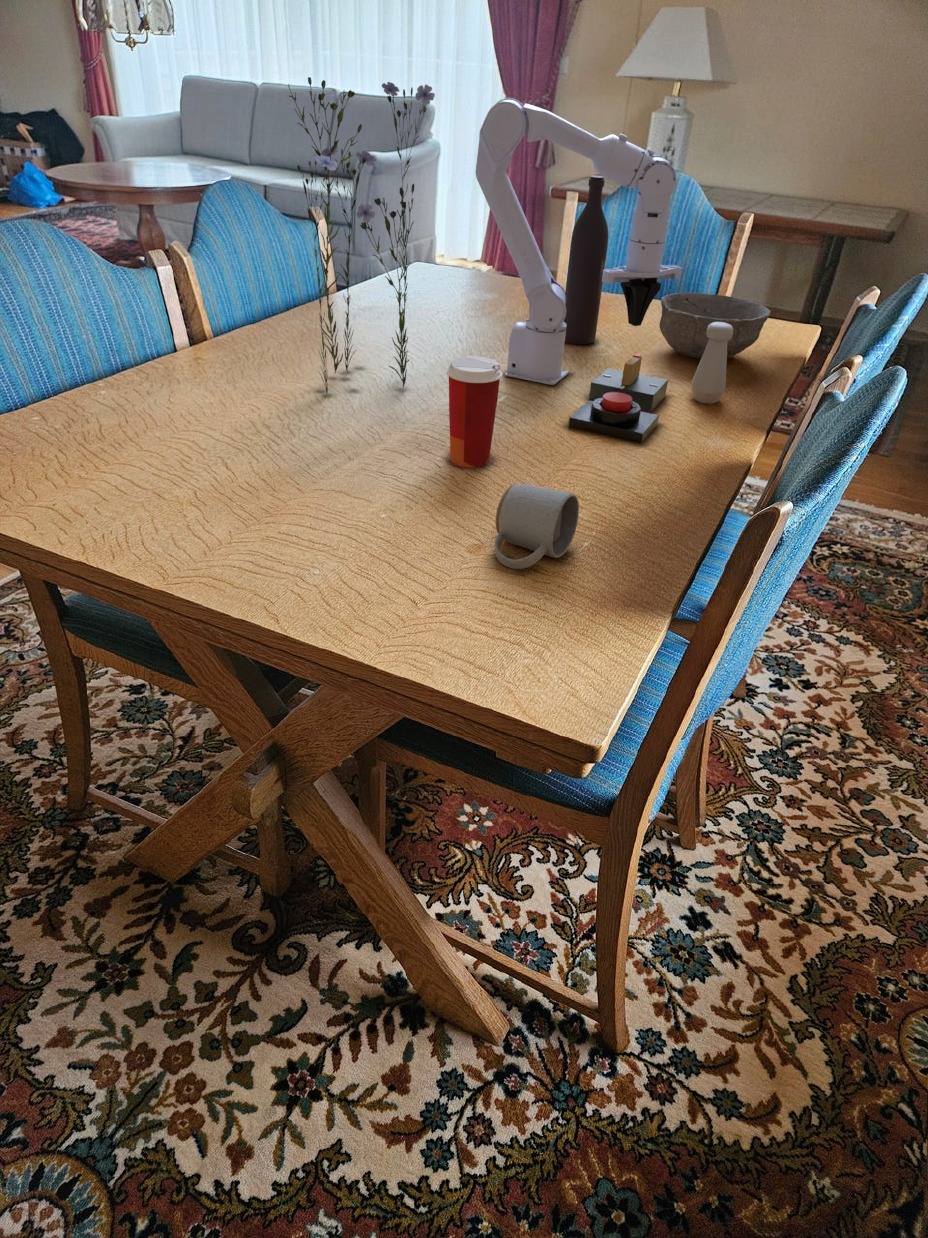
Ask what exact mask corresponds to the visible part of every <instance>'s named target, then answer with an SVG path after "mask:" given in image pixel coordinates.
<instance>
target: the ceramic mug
mask: <svg viewBox="0 0 928 1238" xmlns="http://www.w3.org/2000/svg"><path fill="white" fill-rule="evenodd" d="M579 515H580V502H579V499H578V497H577V495H576V494H575V493H573V492H569V491H562V490H558V489H553V488H547V487H542V486H537V485H532V484H527V483H515V484H511V486H509V487H508V488H506V490H505V491H504V493H503V494H502V495H501V497H500V499H499V501H498V505H497V507H496V512H495V529H496V532H497V535H496V537H495V540H494V543H493V547H494V553H495V556H496V559H497V560H498V562H499V563H500V564H501V565H503V566H505V567H506V568H509V569H513V570H523V569H526V568H530V567H533V565H535V564H536V563H538V562H539V560H541V559H542V558H543V556H546V557H547V556H548V557H550V558H555V559H558V558H561V557H562V556H563V555H565V554H566V552H567V551H568V549H569V548H570V546H571V544H572V542H573V539H574V537H575V535H576V532H577V531H576V530H577V527H578V522H579V517H580V516H579ZM504 541H506V542H507V543H509V544H512V545H514V546H515V545H516V546H518V547H522V548H524V549H527V550H530V551H533V552H532V553H531V554H529V555H528V556H525V557H521V558H516V559H512V558H508V557H507V556H506V555H505V554H503V553H502V551H501V550H500V549H501V546H502V544H503V542H504Z"/></svg>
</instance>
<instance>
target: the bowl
mask: <svg viewBox="0 0 928 1238" xmlns="http://www.w3.org/2000/svg"><path fill="white" fill-rule="evenodd" d="M660 299H661V300H660V305H661V317H660V319H659V324H658V325H659V326H658V327H659V330H660V332H661V335H662V336H663V338H664V340H665V341H666V342H667V344H668V346H670V348H672V349H673V350H674V351H675V352H677V353H679V354H680V355H683V356H686V357H689V358H694V359H699V360H701V358H702V356H703V353H704V351H705V348H706V346H707V343H708V340H709V338H708V337H707V335H706V332H707V328H708V325H709V324H711V323H713V322H724V323H728V324H730V325H731V326H732V327H733V335H732V338H731V339H730V340H728V342H727V358H731V357H733V356H734V357H735V356H736V355H739V354H741V353H742V352H743V351H745V350H746V349H747V348H749V347H751V346H753V344H754V343H756V341H758V339H759V337H760V334H761V331H762V329H763V327H764V326H765V325H764V324H765V323H766V322H767V321H768V319H769V318H770V315H771V310H770V309H769V308H767V307H766V306H764V305H762V304H760V303H758V302H755V301H752V300H748V299H744V298H738V297H734V296H729V295H723V294H722V295H721V294H713V293H702V292H701V293H700V292H674V293H670V294H669V293H668V294H666V295H664V296H662V297H661V298H660Z"/></svg>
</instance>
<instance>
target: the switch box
mask: <svg viewBox="0 0 928 1238" xmlns="http://www.w3.org/2000/svg"><path fill="white" fill-rule="evenodd" d="M602 399H603V398H598V399H595V400H587V401H586V402H585V403H584V404H583V405H581V407H580V408H578V409H577V410H576V411H575V412H574V413H573V414H571V416H570V417H569V418H568V419H569V420H568V428H569V429H574V430H579V431H583V432H587V433H591V434H596V435H601V436H605V437H609V438H614V439H619V440H623V441H627V442H632V443H637V444H643V442H644V441H645V440H646V439H647V438H648V437H649V435H650V434H651V433H652V432H653V431H654V429H656V427H657V426H658V423H659V417H660V415H659V414H656V413H652V412H647V411H642V410H641V407H640V406H639V404H638V403H635V402H633V401H632V405H631V410H629V411H612V410H607V409H605V408H603V407H602Z"/></svg>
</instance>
